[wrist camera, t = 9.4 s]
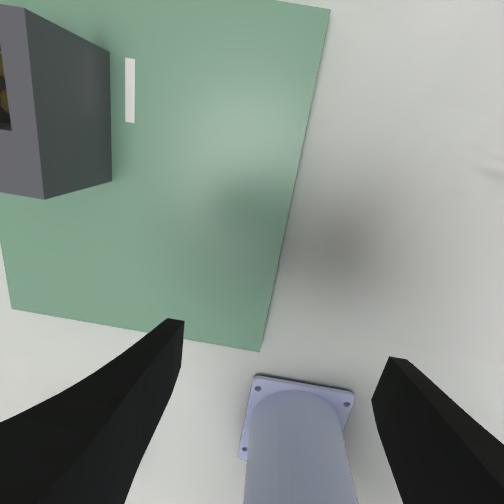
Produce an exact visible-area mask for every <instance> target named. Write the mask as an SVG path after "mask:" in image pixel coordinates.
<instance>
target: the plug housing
mask: <svg viewBox="0 0 504 504" xmlns="http://www.w3.org/2000/svg"><path fill="white" fill-rule="evenodd" d="M0 51H1V53H2V61H3V68H4V76H5V78H4V77H3V76H1V75H0V93H1V92H2V91H3V90H5V89H6V90H7V98H8V105H9V113H10V114H9V113H7V112H6V111H5V110H4V109H3V108H2V106H1V104H0V192H2V193H7V194H13V195H19V196H25V197H31V198H37V199H42V200H45V199H49V198H53V197H56V196H60V195H64V194H67V193H71V192H75V191H78V190H82V189H86V188H89V187H93V186H97V185H101V184H104V183H108V182H112V149H111V96H110V52H109V51H107V50H105V49H103V48H101V47H99V46H97V45H95V44H93V43H91V42H89V41H87V40H85V39H84V38H82V37H80V36H78V35H76V34H74V33H72V32H70V31H68V30H66V29H64V28H62V27H60V26H58V25H56V24H55V23H53V22H51V21H49V20H47V19H45V18H43V17H41V16H39V15H37V14H35V13H33V12H31V11H29V10H27V9H26V8H22V7H16V6H10V5H4V4H0Z"/></svg>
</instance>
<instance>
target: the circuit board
mask: <svg viewBox="0 0 504 504" xmlns="http://www.w3.org/2000/svg"><path fill="white" fill-rule="evenodd" d="M0 4H4V5H10V6H16V7H22V8H26V9H27V10H29V11H31V12H33V13H35V14H37V15H39V16H41V17H43V18H45V19H47V20H49V21H51V22H53V23H55V24H56V25H58V26H60V27H62V28H64V29H66V30H68V31H70V32H72V33H74V34H76V35H78V36H80V37H82V38H84V39H85V40H87V41H89V42H91V43H93V44H95V45H97V46H99V47H101V48H103V49H105V50H107V51H109V52H110V96H111V149H112V182H108V183H104V184H101V185H97V186H93V187H89V188H86V189H82V190H78V191H75V192H71V193H67V194H64V195H60V196H56V197H53V198H49V199H45V200H42V199H37V198H31V197H25V196H19V195H13V194H7V193H2V192H0V242H1V248H2V254H3V260H4V266H5V271H6V277H7V283H8V289H9V295H10V301H11V307H12V309H15V310H21V311H27V312H33V313H38V314H44V315H50V316H55V317H61V318H67V319H73V320H78V321H84V322H90V323H96V324H101V325H107V326H113V327H118V328H124V329H130V330H136V331H141V332H147V333H149V332H150V331H152V330H153V329H154V328H155V327H156V326H158V325H159V324H160V323H161V322H163V321H164V320H165V319H167V318H171V319H177V320H183V321H185V325H184V336H183V339H187V340H193V341H198V342H204V343H210V344H216V345H221V346H227V347H233V348H239V349H244V350H250V351H256V352H260V348H261V344H262V339H263V334H264V329H265V324H266V319H267V315H268V310H269V305H270V300H271V295H272V290H273V286H274V281H275V276H276V271H277V266H278V261H279V257H280V252H281V247H282V242H283V237H284V233H285V228H286V223H287V218H288V213H289V208H290V204H291V199H292V194H293V189H294V184H295V179H296V175H297V170H298V165H299V160H300V155H301V150H302V146H303V141H304V136H305V131H306V126H307V122H308V117H309V112H310V107H311V102H312V97H313V93H314V88H315V83H316V78H317V73H318V68H319V64H320V59H321V54H322V49H323V44H324V39H325V35H326V30H327V25H328V20H329V15H330V11H331V10H330V9H324V8H318V7H312V6H306V5H300V4H294V3H288V2H282V1H275V0H0Z"/></svg>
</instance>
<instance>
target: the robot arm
mask: <svg viewBox="0 0 504 504" xmlns="http://www.w3.org/2000/svg"><path fill="white" fill-rule="evenodd" d="M184 325H185V321H183V320H177V319H171V318H167V319H165V320H164V321H163V322H161V323H160V324H159V325H158V326H156V327H155V328H154V329H153V330H152V331H150V332H149V333H148V334H147V335H145V336H144V337H143V338H142V339H140V340H139V341H138V342H136V343H135V344H134V345H132V346H131V347H130V348H128V349H127V350H126V351H125V352H123V353H122V354H120V355H119V356H118V357H116V358H115V359H113V360H112V361H110V362H109V363H107V364H106V365H105V366H103V367H102V368H100V369H99V370H97V371H96V372H94V373H93V374H91V375H89V376H88V377H86V378H85V379H83V380H81V381H80V382H78V383H76V384H75V385H73V386H71V387H70V388H68V389H66V390H64V391H63V392H61V393H59V394H57V395H55V396H53V397H51V398H49V399H47V400H45V401H43V402H41V403H39V404H37V405H35V406H33V407H32V408H30V409H28V410H26V411H24V412H22V413H20V414H18V415H16V416H13V417H11V418H9V419H7V420H5V421H2V422H0V504H124V503H125V500H126V498H127V495H128V492H129V489H130V487H131V484H132V481H133V479H134V476H135V474H136V471H137V469H138V467H139V464H140V462H141V460H142V457H143V455H144V453H145V451H146V449H147V447H148V445H149V442H150V440H151V438H152V436H153V434H154V432H155V429H156V427H157V425H158V423H159V421H160V419H161V417H162V414H163V412H164V410H165V408H166V406H167V403H168V401H169V399H170V397H171V395H172V392H173V389H174V386H175V383H176V380H177V377H178V374H179V371H180V368H181V359H182V348H183V336H184ZM256 386H259V387H256ZM354 401H355V397H354V394H353V393H352V392H350V391H345V390H339V389H333V388H328V387H322V386H316V385H311V384H305V383H299V382H294V381H288V380H282V379H276V378H271V377H265V376H255V377H254V378H253V381H252V386H251V391H250V396H249V401H248V406H247V411H246V416H245V420H244V425H243V430H242V435H241V440H240V445H239V450H238V458H239V459H240V460H243V461H247V466H246V478H245V490H244V502H243V504H359V503H358V499H357V495H356V490H355V486H354V482H353V477H352V473H351V469H350V464H349V460H348V456H347V451H346V447H345V443H344V438H343V434H342V432H343V430H344V427H345V424H346V422H347V419H348V417H349V414H350V411H351V409H352V406H353V404H354ZM345 402H347V403H345ZM371 402H372V407H373V411H374V416H375V421H376V425H377V429H378V433H379V436H380V439H381V442H382V445H383V447H384V450H385V453H386V456H387V459H388V462H389V465H390V467H391V470H392V473H393V476H394V479H395V481H396V484H397V487H398V490H399V493H400V496H401V498H402V501H403V504H504V444H502V443H501V442H500V441H499V440H498V439H496V438H495V437H494V436H493V435H492V434H490V433H489V432H488V431H487V430H486V429H484V428H483V427H482V426H481V425H480V424H479V423H477V422H476V421H475V420H474V419H473V418H472V417H471V416H469V415H468V414H467V413H466V412H465V411H464V410H463V409H462V408H460V407H459V406H458V405H457V404H456V403H455V402H454V401H453V400H452V399H451V398H449V397H448V396H447V395H446V394H445V393H444V392H443V391H442V390H441V389H440V388H438V387H437V386H436V385H435V384H434V383H433V382H432V381H431V380H430V379H429V378H428V377H426V376H425V375H424V374H423V373H422V372H421V371H420V370H419V369H417V368H416V367H415V366H414V365H413V364H412V363H410V362H409V361H408V360H406V359H401V358H395V357H389V358H388V361H387V363H386V365H385V368H384V370H383V373H382V375H381V377H380V380H379V382H378V385H377V387H376V390H375V392H374V394H373V397H372V399H371Z"/></svg>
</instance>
